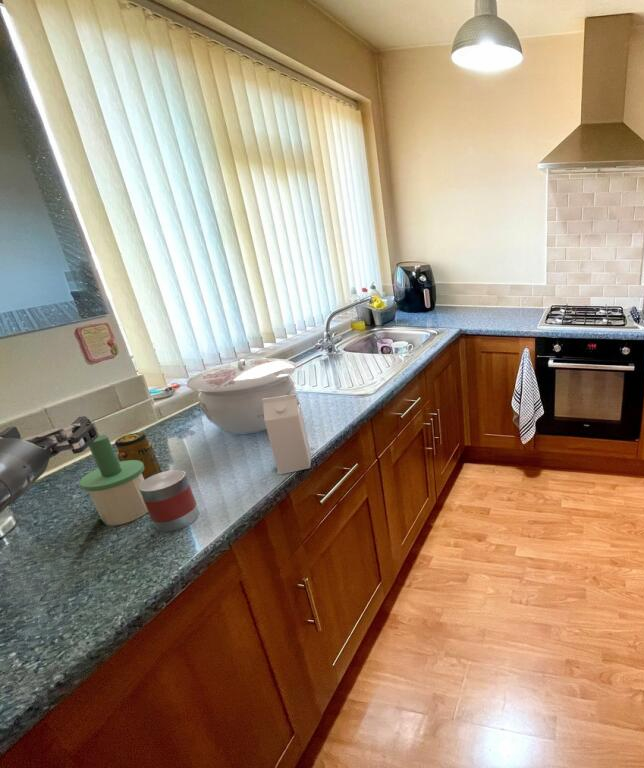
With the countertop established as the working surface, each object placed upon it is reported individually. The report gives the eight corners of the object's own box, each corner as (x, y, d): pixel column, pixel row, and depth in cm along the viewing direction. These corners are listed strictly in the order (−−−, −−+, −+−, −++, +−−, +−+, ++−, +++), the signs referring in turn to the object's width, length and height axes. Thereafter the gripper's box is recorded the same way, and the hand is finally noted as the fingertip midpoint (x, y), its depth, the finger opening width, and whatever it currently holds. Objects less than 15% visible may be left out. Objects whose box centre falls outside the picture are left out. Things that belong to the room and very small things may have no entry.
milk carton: (281, 460, 104) (264, 393, 97) (311, 454, 107) (296, 389, 100) (278, 475, 98) (260, 404, 91) (310, 468, 101) (294, 399, 94)
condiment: (141, 474, 99) (124, 431, 95) (179, 471, 100) (164, 428, 96) (120, 492, 92) (99, 447, 88) (161, 488, 94) (143, 443, 89)
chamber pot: (235, 456, 107) (213, 383, 99) (185, 431, 119) (162, 366, 112) (327, 415, 129) (315, 353, 122) (276, 398, 142) (262, 341, 134)
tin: (151, 537, 79) (132, 495, 75) (161, 515, 85) (144, 475, 81) (196, 525, 82) (180, 484, 78) (202, 504, 88) (188, 466, 84)
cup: (96, 530, 81) (78, 493, 78) (111, 506, 88) (95, 472, 84) (147, 517, 84) (132, 481, 81) (158, 495, 91) (144, 462, 88)
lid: (71, 496, 77) (51, 456, 73) (93, 471, 85) (75, 433, 81) (136, 483, 81) (119, 444, 77) (150, 459, 89) (136, 423, 85)
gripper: (52, 441, 56) (99, 398, 69) (-106, 467, 50) (-22, 414, 63) (74, 486, 58) (115, 436, 72) (-73, 516, 52) (1, 455, 66)
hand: (51, 426), depth 67 cm, fingers open, 8 cm apart
